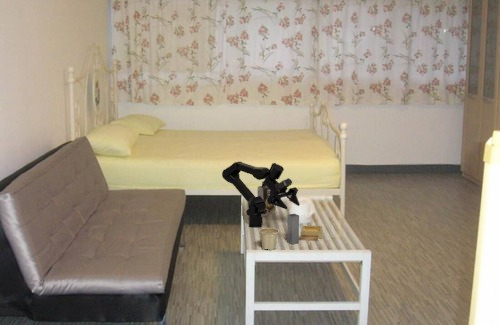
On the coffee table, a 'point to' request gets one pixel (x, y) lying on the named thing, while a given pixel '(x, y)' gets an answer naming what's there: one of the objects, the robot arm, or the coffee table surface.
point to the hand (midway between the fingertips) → (293, 206)
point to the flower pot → (268, 238)
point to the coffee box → (264, 194)
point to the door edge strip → (306, 238)
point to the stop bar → (293, 229)
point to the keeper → (312, 231)
